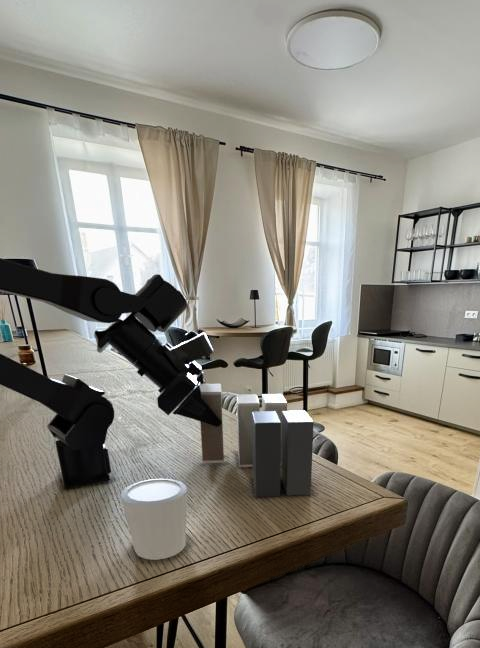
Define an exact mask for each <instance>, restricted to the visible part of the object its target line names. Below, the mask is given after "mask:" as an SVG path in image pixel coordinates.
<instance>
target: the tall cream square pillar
mask: <svg viewBox="0 0 480 648" xmlns="http://www.w3.org/2000/svg"><path fill="white" fill-rule="evenodd" d="M201 395H202V397H203V398H204V400H205V401H206V402H207V403H208V405H209V406H210V407H211V408H212V410H213V411H214V412H215V413H216V415H217V416H218V417H219V418H220V420H221V421H222V424H221V425H220V426H219V427H216V426H213V425H210V424H207V423H204V422H201V421H199V422H200V423H199V425H200V439H201V454H202V455H201V457H202V464H221V463H225V453H224V451H225V450H224V426H223V425H224V424H223V399H222V398H223V397H222V383H204V384H201Z"/></svg>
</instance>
